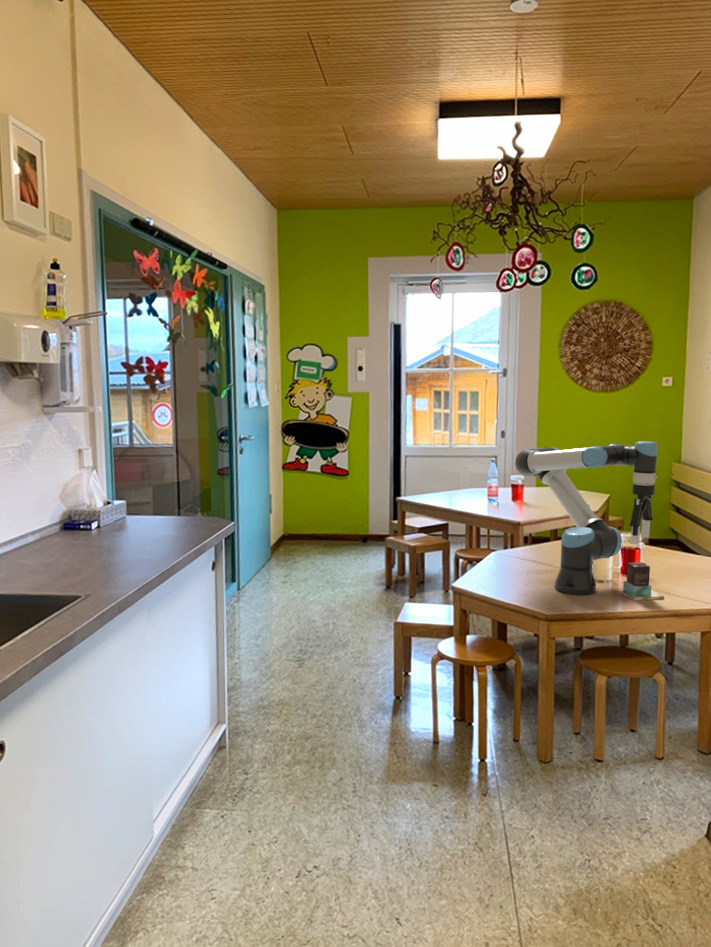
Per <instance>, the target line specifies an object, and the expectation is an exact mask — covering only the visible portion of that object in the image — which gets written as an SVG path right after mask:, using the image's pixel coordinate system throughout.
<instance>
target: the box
mask: <svg viewBox="0 0 711 947" xmlns="http://www.w3.org/2000/svg"><path fill="white" fill-rule="evenodd" d="M650 573H651V566H650V565H648V564H647V563H644V562H627V572H626V581H627V582H629V583H630V584H632V585H633V586H637V585H650V575H651V574H650Z"/></svg>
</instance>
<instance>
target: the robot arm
mask: <svg viewBox="0 0 711 947" xmlns="http://www.w3.org/2000/svg"><path fill="white" fill-rule="evenodd" d="M658 455H659V454H658V444H657V442H655V441H647V440H645V441H643V440H639V441H636V442H635V444H634V445H627V444H621V443H611V444H608V445H601V446H598V445H597V446H596V445H593V446H589V447H581V448H580V447H578V448H571V449H569V448H568V449H567V448H566V449H559V448H557V447H551V446H546V447H545V446H544V447H537V448H526V449H523V450H521V451H519V452H518V454H517V455H516V457H515V460H514V461H515V462H514V465H515V469H516V470H517V472H518V473H520V474H521V475H522V476H525V477H538V479H539V480H540V482H541V483H542V484H543V485H547V486H548V487H549V488H550V490H551V491H552V493H553V494H554V496H555V497H556V498H557V500H558V502H559V503H560V505H561V506H562V507H563V509H564V511H565V512H566V513H567V515H568V517H569V518H570V520H572V522H573V524H574V525H575V526H573V527H569V528H567V529H565V530H564V531H563V532H562V536H561V540H560V542H561V544H560V545H561V546H560V547H561V548H560V568H559V571H558V574H557V575H556V577H555V581H554V588H555V590H557V591H559V592H561V593H565V594H571V595H577V596H578V595H579V596H580V595H581V596H582V595H591V594H595V592H596V591H597V585H596V581H595V580H596V579H595V577H594V572H593V564H594V563H593V561H596V560H597V561H598V560H602V559H609V558H611V557H614V556H617V554H618V553H620V551H621V548H622V546H623V545H622V543H623V540H622V535H621V533H620V531H619V530H618V529H617V528H616V527H613V526H608V524H607V523H606V522H605V520H604V519H603V518H600V517H599V518H598V517H597V515H596V514H595V512H594V511H593V509H592V508H591V507H590V506H589V504H588V502H587V501H586V500H585V498H584V497H583V496H582V494H581V493H580V491H579V490H578V489H577V487H576V486H575V484H574V482H572V480H571V478H570V477H569V475H568V474H567V471H568V470H572V469H585V468H587V469H589V468H595V469H596V468H603V467H614V466H626V467H627V466H630V467H633V475H632V482H633V484H632V490H631V491H632V492H631V493H632V494H633V495H634V496H637V497H636V498H634V499H633V508H632V513H631V519H630V523H629V524H628V525H629V526H630V527H631V536H630V544H632V545H640V537H641V538H646V539H649V538H650V531H651V530H650V528H651V521H653V520H654V518H653V513H652V510H653V508H652V496H654V495H655V492H656V491H655V490H656V489H655V488H656V486H655V485H654V484H655V483H656V479H657V478H658V476H657V475H656V469H657V463H658V462H657V460H658ZM640 525H641V526H640ZM640 532H641V533H640Z"/></svg>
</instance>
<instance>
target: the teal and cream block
mask: <svg viewBox="0 0 711 947" xmlns="http://www.w3.org/2000/svg"><path fill="white" fill-rule="evenodd" d="M622 586H623V587H622V589H623V590H622V591H621V594H622V595H624V596H625V597H628V598H629V599H631V600H633V601H644V600H645V601H649V600H664V599H665V596H664V595H663V594H660V593H658V592H656V591H654V590H653V589H652V585H650V584H649V585H637V586H633V585H632V584H630V583H629V582H627V580H624V581H623V585H622Z"/></svg>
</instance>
